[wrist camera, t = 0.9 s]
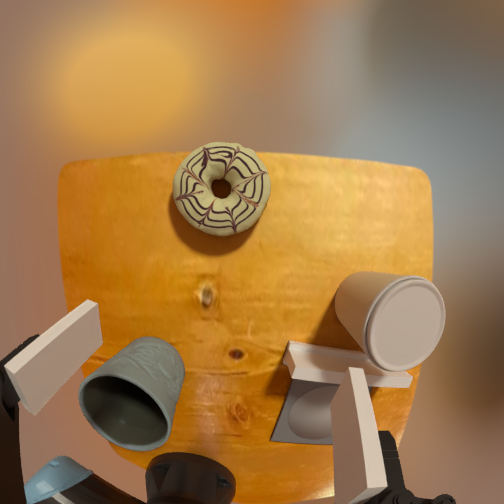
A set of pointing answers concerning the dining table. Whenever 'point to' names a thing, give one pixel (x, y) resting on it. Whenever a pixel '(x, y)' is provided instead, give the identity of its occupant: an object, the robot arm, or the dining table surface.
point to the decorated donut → (241, 196)
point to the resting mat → (306, 413)
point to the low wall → (337, 366)
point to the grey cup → (135, 394)
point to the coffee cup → (391, 317)
